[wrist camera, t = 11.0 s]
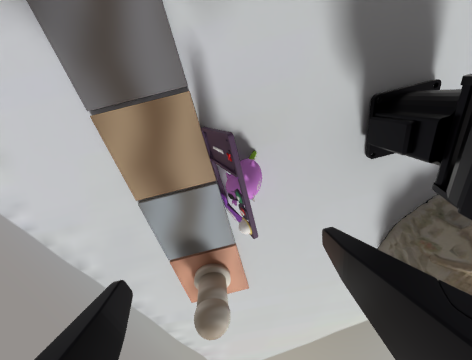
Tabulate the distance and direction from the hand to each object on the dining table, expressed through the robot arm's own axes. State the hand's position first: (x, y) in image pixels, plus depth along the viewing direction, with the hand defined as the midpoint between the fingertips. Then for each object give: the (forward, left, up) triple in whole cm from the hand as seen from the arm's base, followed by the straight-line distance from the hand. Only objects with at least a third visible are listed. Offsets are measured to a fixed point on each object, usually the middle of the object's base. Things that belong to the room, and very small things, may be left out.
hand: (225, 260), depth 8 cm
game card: (-2, 0, -12) cm, 12 cm away
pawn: (+5, +15, -12) cm, 20 cm away
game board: (+5, +1, -12) cm, 13 cm away
